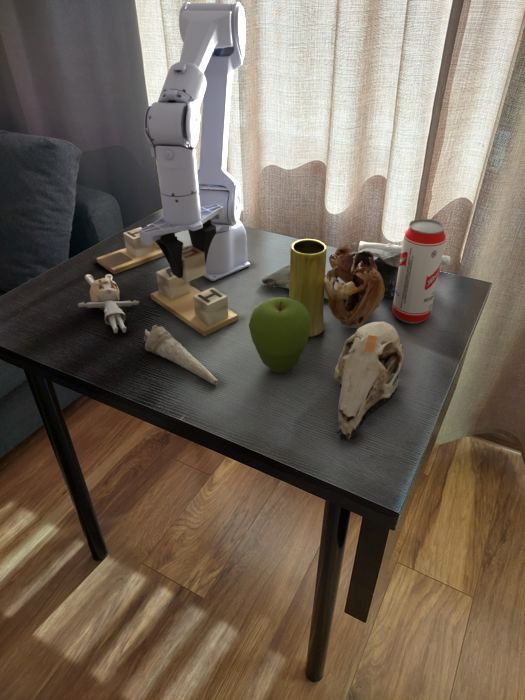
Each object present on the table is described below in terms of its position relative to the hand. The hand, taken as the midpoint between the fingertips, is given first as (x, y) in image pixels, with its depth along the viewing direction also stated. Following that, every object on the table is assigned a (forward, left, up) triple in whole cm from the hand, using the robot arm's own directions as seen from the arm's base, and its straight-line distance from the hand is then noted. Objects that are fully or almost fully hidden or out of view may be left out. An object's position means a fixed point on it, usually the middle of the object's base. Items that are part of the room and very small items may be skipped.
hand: (188, 270), depth 86 cm
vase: (-10, +17, -7) cm, 21 cm away
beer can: (-25, +27, -8) cm, 38 cm away
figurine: (-34, +8, -4) cm, 36 cm away
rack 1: (-4, -24, -7) cm, 25 cm away
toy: (+11, -9, -8) cm, 16 cm away
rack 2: (0, 0, -7) cm, 7 cm away
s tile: (0, 0, -1) cm, 1 cm away
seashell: (+10, +11, -8) cm, 17 cm away
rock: (-26, +18, -6) cm, 33 cm away
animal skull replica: (-3, +35, -7) cm, 36 cm away
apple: (0, +22, -8) cm, 23 cm away
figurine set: (-12, +31, -8) cm, 34 cm away
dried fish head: (-19, +13, -6) cm, 23 cm away
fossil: (-20, +9, -7) cm, 23 cm away
